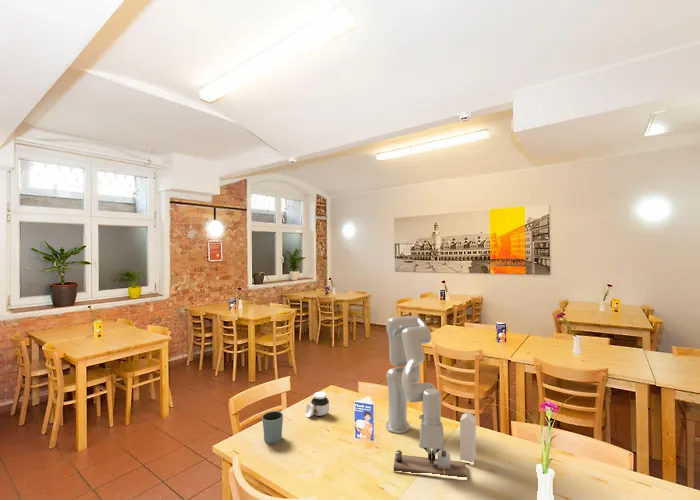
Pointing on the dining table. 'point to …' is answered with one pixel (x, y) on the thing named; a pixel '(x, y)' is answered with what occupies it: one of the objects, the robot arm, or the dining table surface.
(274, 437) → the blue-grey cup
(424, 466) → the board
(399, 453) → the fixed leg
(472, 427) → the milk
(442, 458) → the sliding leg
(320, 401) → the spread jar
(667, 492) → the dining table surface
